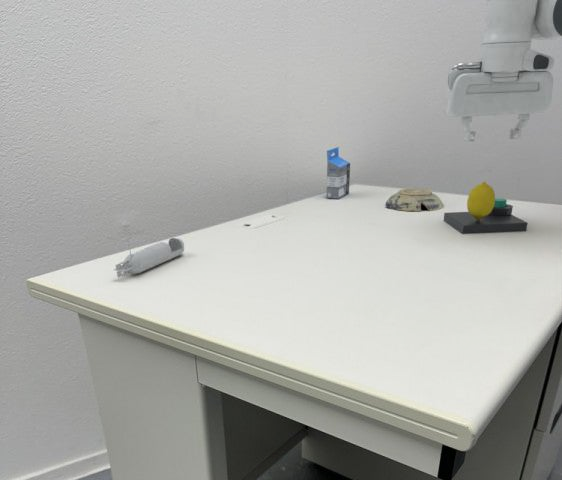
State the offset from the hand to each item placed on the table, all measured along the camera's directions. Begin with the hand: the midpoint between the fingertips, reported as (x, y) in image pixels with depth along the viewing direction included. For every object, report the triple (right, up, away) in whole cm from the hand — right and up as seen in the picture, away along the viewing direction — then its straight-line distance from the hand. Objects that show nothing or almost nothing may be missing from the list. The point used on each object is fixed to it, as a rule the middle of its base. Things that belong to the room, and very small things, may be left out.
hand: (491, 139), depth 110 cm
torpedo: (-67, -28, -9) cm, 73 cm away
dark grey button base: (+2, -15, +11) cm, 18 cm away
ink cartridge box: (-27, +3, +43) cm, 51 cm away
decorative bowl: (-9, -4, +31) cm, 32 cm away
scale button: (+6, -10, +13) cm, 17 cm away
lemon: (0, -14, +8) cm, 16 cm away
